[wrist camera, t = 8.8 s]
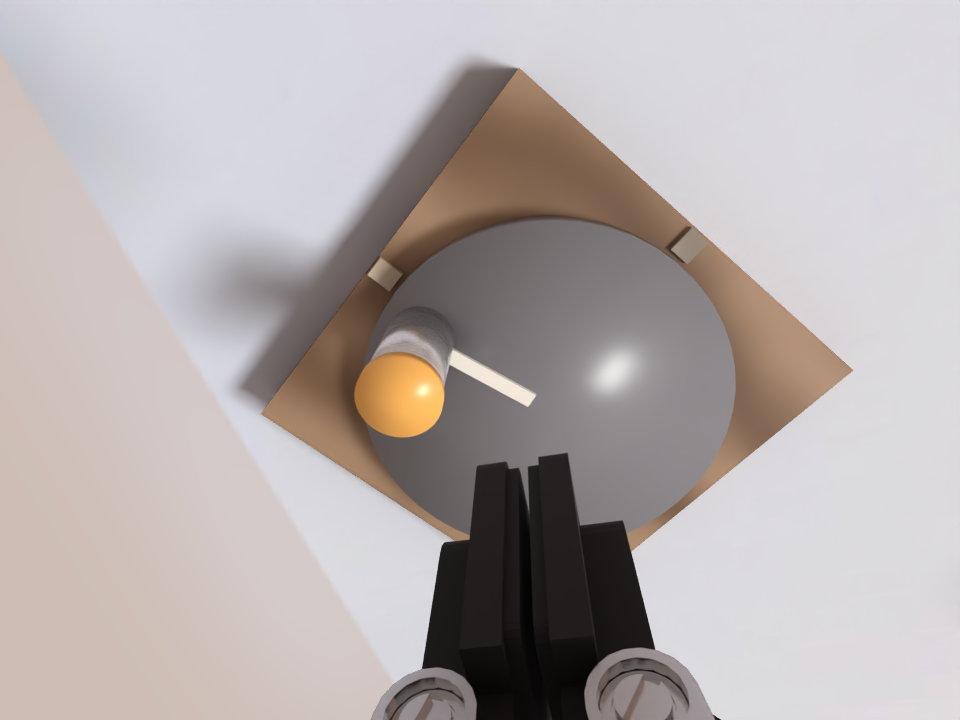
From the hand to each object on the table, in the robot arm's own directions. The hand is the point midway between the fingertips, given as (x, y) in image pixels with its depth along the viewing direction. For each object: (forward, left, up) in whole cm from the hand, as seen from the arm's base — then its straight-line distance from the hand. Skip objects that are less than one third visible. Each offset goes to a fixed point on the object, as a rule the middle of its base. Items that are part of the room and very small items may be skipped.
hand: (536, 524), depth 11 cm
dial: (-4, -5, -17) cm, 18 cm away
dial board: (-4, -5, -19) cm, 20 cm away
